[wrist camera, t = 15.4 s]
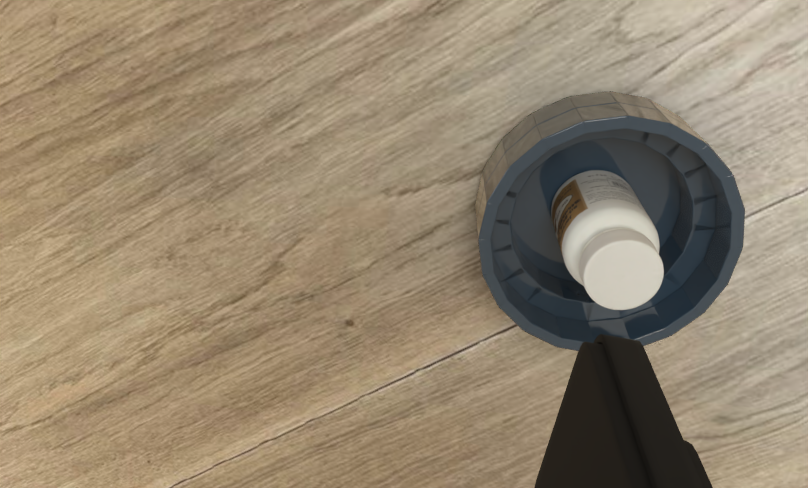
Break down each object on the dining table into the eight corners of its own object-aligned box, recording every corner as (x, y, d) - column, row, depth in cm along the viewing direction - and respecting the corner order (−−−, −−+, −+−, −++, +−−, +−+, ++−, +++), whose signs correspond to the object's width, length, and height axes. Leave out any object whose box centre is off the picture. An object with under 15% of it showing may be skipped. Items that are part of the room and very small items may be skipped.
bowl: (504, 69, 37) (512, 94, 32) (745, 113, 37) (786, 144, 33) (455, 282, 42) (456, 330, 38) (666, 320, 42) (692, 371, 38)
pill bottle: (546, 174, 38) (568, 237, 31) (633, 162, 38) (675, 224, 31) (552, 250, 40) (575, 326, 33) (636, 240, 40) (676, 315, 33)
